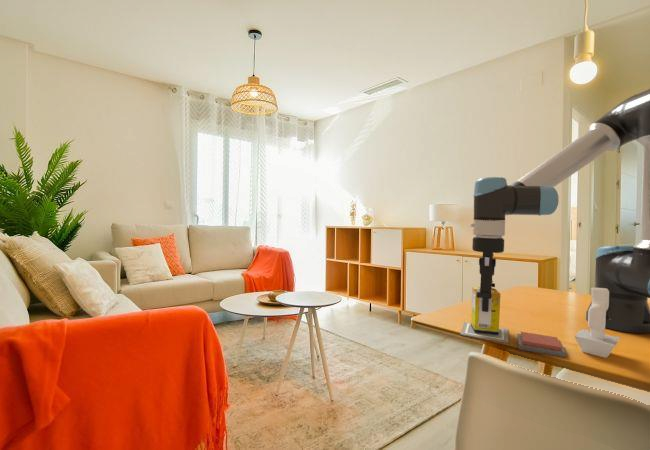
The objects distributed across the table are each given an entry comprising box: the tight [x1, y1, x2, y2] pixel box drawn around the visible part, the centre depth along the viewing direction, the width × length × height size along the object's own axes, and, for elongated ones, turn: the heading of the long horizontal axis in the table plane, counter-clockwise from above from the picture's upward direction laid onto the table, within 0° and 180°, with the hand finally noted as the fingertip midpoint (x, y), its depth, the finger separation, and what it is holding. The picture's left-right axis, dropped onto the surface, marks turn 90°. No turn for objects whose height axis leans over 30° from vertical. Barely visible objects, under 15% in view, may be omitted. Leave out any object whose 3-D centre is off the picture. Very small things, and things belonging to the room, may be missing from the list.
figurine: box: [574, 287, 621, 359], centre depth 78 cm, size 7×9×15 cm
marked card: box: [460, 321, 510, 344], centre depth 90 cm, size 11×11×1 cm
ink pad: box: [516, 331, 567, 358], centre depth 80 cm, size 9×8×2 cm
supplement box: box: [470, 286, 501, 335], centre depth 90 cm, size 6×6×11 cm
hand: (485, 316), depth 89 cm, fingers open, 13 cm apart
